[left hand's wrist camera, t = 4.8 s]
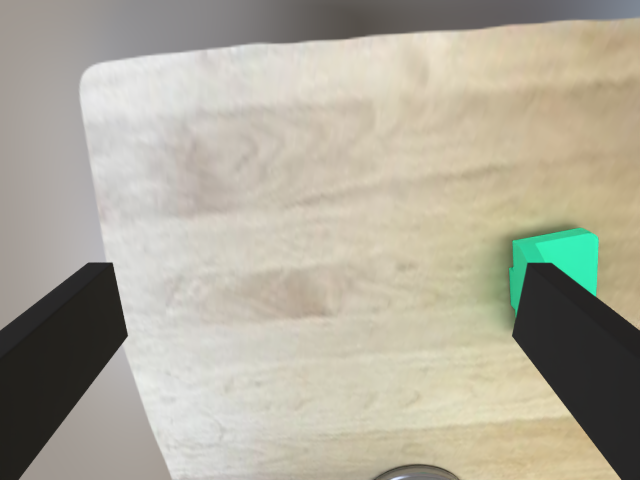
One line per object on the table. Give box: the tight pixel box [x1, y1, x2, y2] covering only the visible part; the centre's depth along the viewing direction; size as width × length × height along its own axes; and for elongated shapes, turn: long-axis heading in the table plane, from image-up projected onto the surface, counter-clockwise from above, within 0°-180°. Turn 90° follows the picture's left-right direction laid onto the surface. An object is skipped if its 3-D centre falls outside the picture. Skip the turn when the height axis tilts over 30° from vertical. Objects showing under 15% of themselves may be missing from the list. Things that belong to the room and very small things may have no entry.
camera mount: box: [509, 228, 599, 316], centre depth 39 cm, size 12×8×10 cm, turn 12°
